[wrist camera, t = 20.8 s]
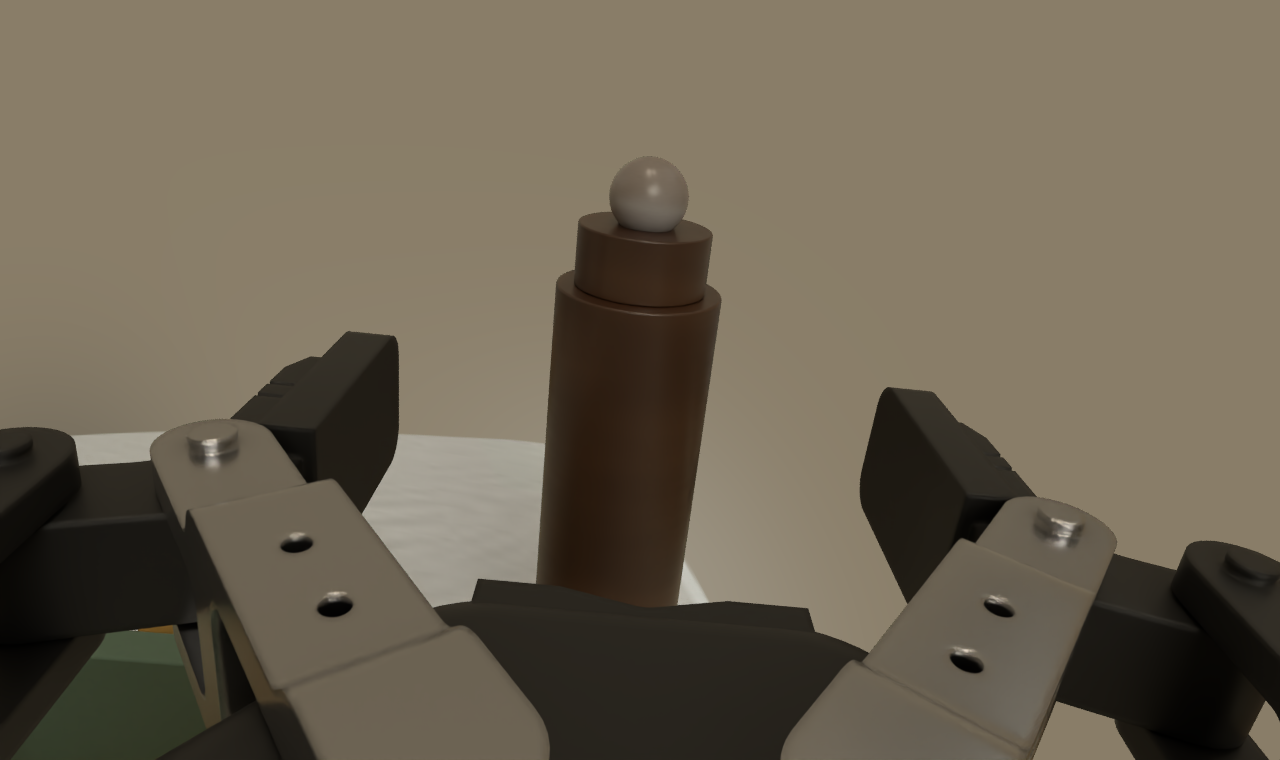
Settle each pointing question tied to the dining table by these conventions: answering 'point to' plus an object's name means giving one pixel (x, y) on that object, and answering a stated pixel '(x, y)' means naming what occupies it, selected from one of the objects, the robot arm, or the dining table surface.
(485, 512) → the dining table surface
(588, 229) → the pepper mill
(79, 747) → the drawer
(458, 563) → the dining table surface
